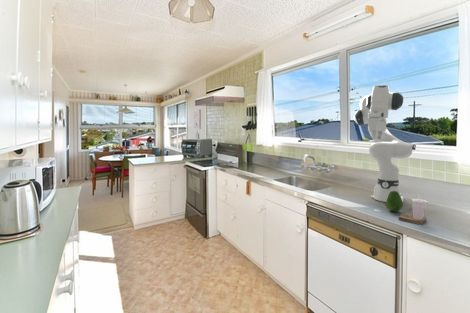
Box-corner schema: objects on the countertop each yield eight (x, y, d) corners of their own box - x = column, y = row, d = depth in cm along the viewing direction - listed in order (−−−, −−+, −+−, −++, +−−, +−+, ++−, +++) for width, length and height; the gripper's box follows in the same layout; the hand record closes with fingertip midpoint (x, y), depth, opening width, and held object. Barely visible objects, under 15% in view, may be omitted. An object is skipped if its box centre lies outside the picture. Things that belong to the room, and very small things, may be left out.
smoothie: (410, 215, 132) (413, 189, 130) (425, 218, 128) (428, 191, 126) (409, 219, 127) (411, 192, 125) (425, 222, 123) (427, 194, 121)
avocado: (388, 208, 149) (389, 188, 148) (403, 211, 143) (405, 191, 142) (383, 211, 143) (385, 190, 142) (399, 214, 138) (401, 193, 137)
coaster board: (403, 215, 137) (403, 212, 137) (425, 220, 130) (426, 217, 130) (398, 219, 130) (398, 216, 130) (422, 225, 123) (422, 222, 123)
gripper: (378, 115, 149) (376, 138, 151) (366, 114, 135) (364, 139, 136) (390, 115, 145) (388, 139, 146) (379, 113, 130) (377, 140, 132)
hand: (376, 139), depth 141 cm, fingers open, 8 cm apart
